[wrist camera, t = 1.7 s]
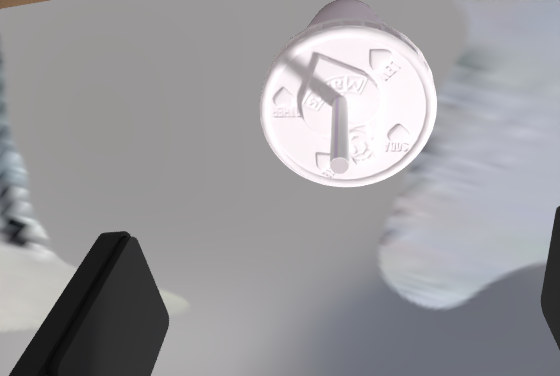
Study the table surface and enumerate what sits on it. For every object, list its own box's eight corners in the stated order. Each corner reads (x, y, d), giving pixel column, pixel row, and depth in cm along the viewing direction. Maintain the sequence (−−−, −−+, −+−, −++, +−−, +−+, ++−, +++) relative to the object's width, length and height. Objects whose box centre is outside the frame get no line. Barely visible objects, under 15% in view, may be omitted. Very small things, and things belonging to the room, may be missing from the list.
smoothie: (383, -55, 23) (425, 30, 11) (424, 66, 26) (490, 232, 14) (263, 4, 25) (193, 127, 13) (314, 110, 28) (293, 286, 16)
